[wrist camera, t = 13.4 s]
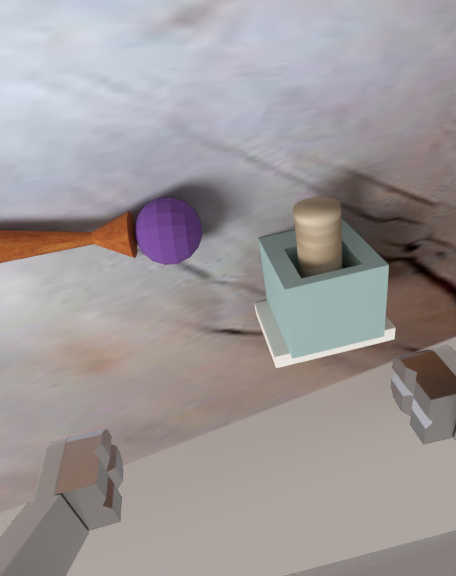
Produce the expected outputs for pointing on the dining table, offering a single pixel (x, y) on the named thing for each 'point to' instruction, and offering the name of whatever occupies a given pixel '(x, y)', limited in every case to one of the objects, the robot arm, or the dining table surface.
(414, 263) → the dining table surface
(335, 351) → the slab
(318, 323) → the block
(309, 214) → the dowel
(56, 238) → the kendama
